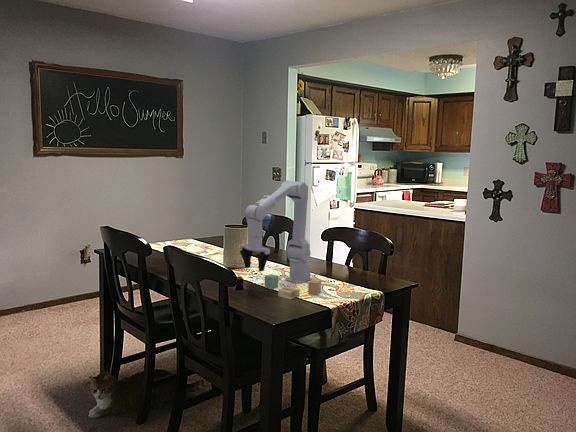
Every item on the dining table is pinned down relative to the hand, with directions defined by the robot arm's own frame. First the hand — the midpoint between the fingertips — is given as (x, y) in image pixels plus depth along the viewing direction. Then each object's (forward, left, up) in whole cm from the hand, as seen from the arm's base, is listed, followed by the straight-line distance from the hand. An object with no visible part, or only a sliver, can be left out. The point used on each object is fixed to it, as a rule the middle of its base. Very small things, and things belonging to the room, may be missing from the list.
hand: (254, 269), depth 203 cm
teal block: (-11, -1, -10) cm, 15 cm away
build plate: (-2, -11, -11) cm, 15 cm away
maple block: (-7, +12, -10) cm, 17 cm away
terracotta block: (-17, +17, -10) cm, 26 cm away
